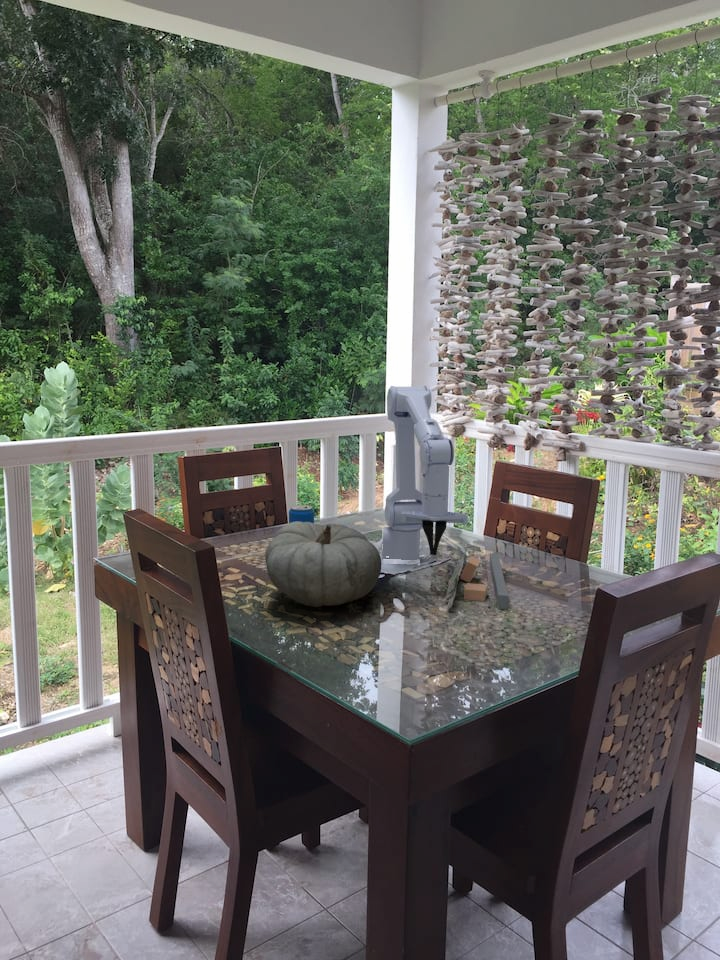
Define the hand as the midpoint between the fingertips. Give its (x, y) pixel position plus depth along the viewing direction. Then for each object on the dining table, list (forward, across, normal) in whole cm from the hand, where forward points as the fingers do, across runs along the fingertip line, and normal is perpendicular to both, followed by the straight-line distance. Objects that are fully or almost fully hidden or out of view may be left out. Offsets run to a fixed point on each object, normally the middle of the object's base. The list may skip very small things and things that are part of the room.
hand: (433, 553), depth 182 cm
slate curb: (+8, +15, +5) cm, 18 cm away
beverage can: (+9, -34, +26) cm, 44 cm away
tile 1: (+9, +10, -3) cm, 13 cm away
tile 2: (+6, +10, +8) cm, 14 cm away
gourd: (+9, -24, -9) cm, 27 cm away
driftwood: (+8, +3, +4) cm, 9 cm away
